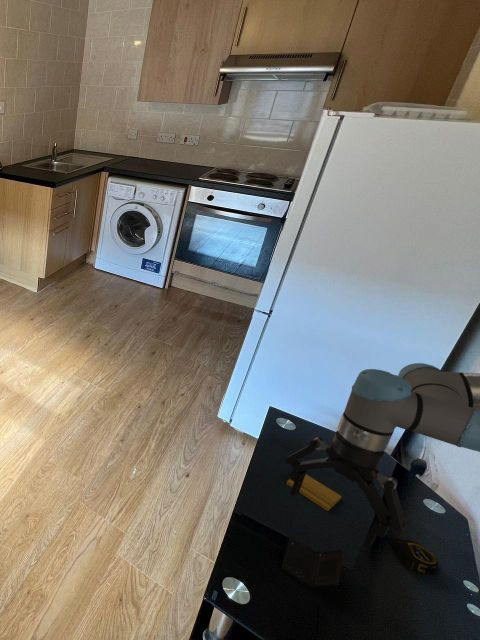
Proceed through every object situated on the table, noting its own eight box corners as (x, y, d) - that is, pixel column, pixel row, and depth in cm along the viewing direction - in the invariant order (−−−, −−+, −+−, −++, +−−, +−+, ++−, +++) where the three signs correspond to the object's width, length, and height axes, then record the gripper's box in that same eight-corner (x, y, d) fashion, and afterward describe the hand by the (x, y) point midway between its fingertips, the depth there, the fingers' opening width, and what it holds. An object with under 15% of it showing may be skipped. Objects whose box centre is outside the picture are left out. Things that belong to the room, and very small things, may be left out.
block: (340, 499, 114) (342, 494, 113) (327, 511, 110) (329, 506, 110) (299, 473, 122) (301, 468, 122) (286, 483, 119) (287, 478, 118)
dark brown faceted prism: (280, 530, 103) (320, 524, 96) (303, 554, 101) (346, 551, 94) (278, 571, 94) (322, 569, 88) (303, 599, 93) (350, 598, 86)
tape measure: (386, 544, 102) (391, 533, 100) (422, 554, 99) (427, 543, 98) (403, 571, 95) (409, 559, 94) (441, 582, 93) (447, 571, 92)
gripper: (283, 409, 93) (260, 481, 99) (441, 493, 72) (399, 577, 78) (299, 400, 96) (276, 470, 102) (454, 477, 75) (413, 559, 82)
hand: (329, 516), depth 90 cm, fingers open, 13 cm apart
